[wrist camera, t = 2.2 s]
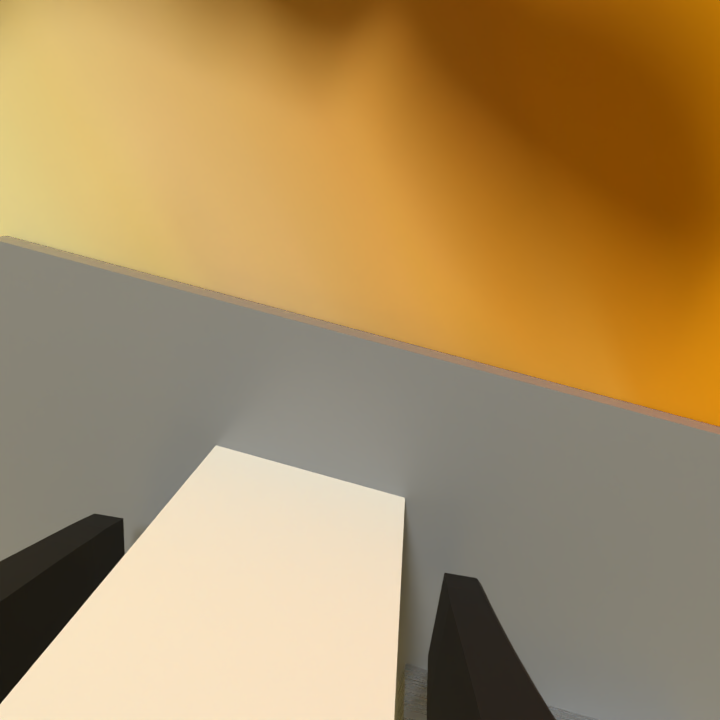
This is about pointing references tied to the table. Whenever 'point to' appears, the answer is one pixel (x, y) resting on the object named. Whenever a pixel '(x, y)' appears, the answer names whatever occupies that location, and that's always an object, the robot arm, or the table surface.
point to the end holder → (415, 698)
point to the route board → (378, 467)
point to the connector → (237, 607)
